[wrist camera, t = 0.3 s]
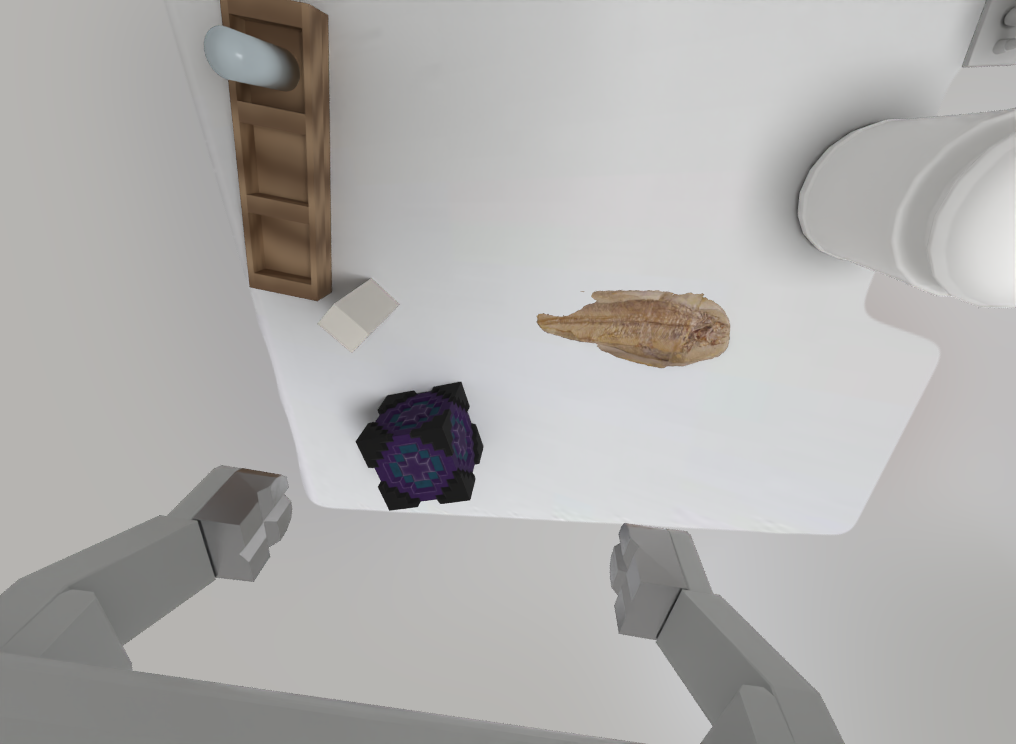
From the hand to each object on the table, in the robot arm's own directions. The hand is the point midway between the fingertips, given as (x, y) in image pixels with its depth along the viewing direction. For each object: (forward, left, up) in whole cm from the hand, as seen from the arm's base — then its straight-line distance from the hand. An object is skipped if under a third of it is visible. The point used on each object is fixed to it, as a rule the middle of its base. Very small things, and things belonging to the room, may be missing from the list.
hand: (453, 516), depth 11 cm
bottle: (-10, +35, -48) cm, 60 cm away
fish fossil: (+10, +15, -49) cm, 52 cm away
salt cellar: (-10, -30, -47) cm, 56 cm away
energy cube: (+32, -9, -48) cm, 59 cm away
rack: (-1, -30, -48) cm, 57 cm away
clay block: (+14, -19, -48) cm, 54 cm away
